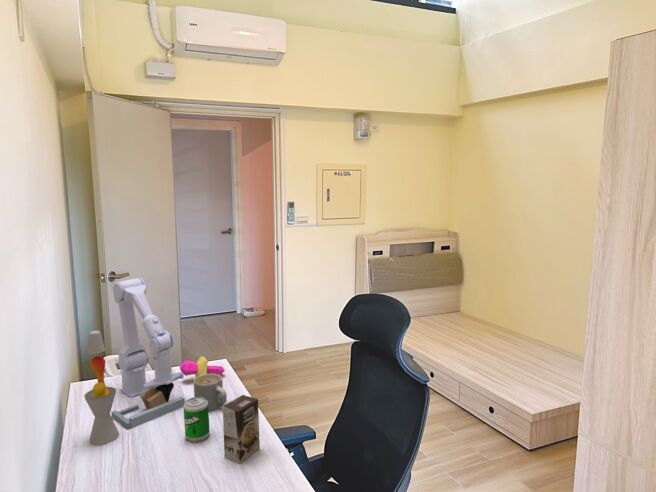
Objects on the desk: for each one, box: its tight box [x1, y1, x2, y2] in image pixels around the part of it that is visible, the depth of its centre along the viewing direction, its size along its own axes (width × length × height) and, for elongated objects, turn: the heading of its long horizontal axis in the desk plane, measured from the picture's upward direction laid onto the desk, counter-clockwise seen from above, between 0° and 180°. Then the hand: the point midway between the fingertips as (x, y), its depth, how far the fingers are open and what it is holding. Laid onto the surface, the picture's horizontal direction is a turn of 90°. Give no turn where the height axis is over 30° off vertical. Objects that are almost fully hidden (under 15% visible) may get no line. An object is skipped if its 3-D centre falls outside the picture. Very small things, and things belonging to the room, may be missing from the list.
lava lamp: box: [83, 330, 120, 446], centre depth 148 cm, size 9×9×35 cm
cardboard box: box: [139, 388, 166, 410], centre depth 167 cm, size 7×5×7 cm
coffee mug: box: [193, 374, 227, 413], centre depth 169 cm, size 13×10×10 cm
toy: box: [179, 355, 225, 379], centre depth 192 cm, size 10×18×10 cm, turn 119°
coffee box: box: [222, 394, 261, 464], centre depth 140 cm, size 9×6×16 cm
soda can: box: [182, 397, 211, 443], centre depth 150 cm, size 8×8×12 cm
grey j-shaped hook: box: [110, 396, 186, 430], centre depth 167 cm, size 12×21×3 cm, turn 137°
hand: (165, 402), depth 171 cm, fingers closed
